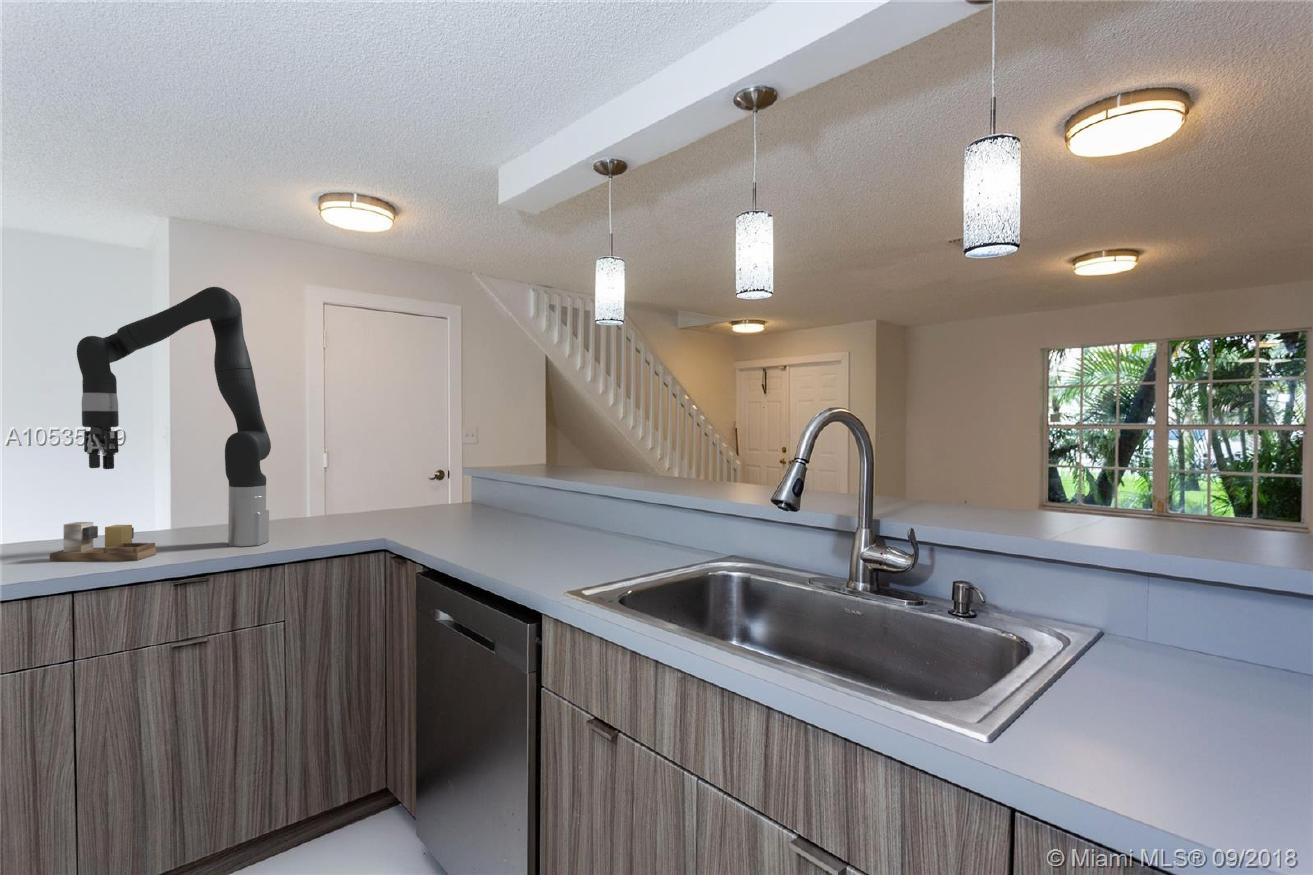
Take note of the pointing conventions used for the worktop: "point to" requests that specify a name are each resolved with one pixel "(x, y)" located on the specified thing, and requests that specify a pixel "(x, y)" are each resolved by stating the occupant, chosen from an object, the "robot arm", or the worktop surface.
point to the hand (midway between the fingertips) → (101, 468)
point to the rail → (81, 548)
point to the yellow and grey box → (118, 535)
